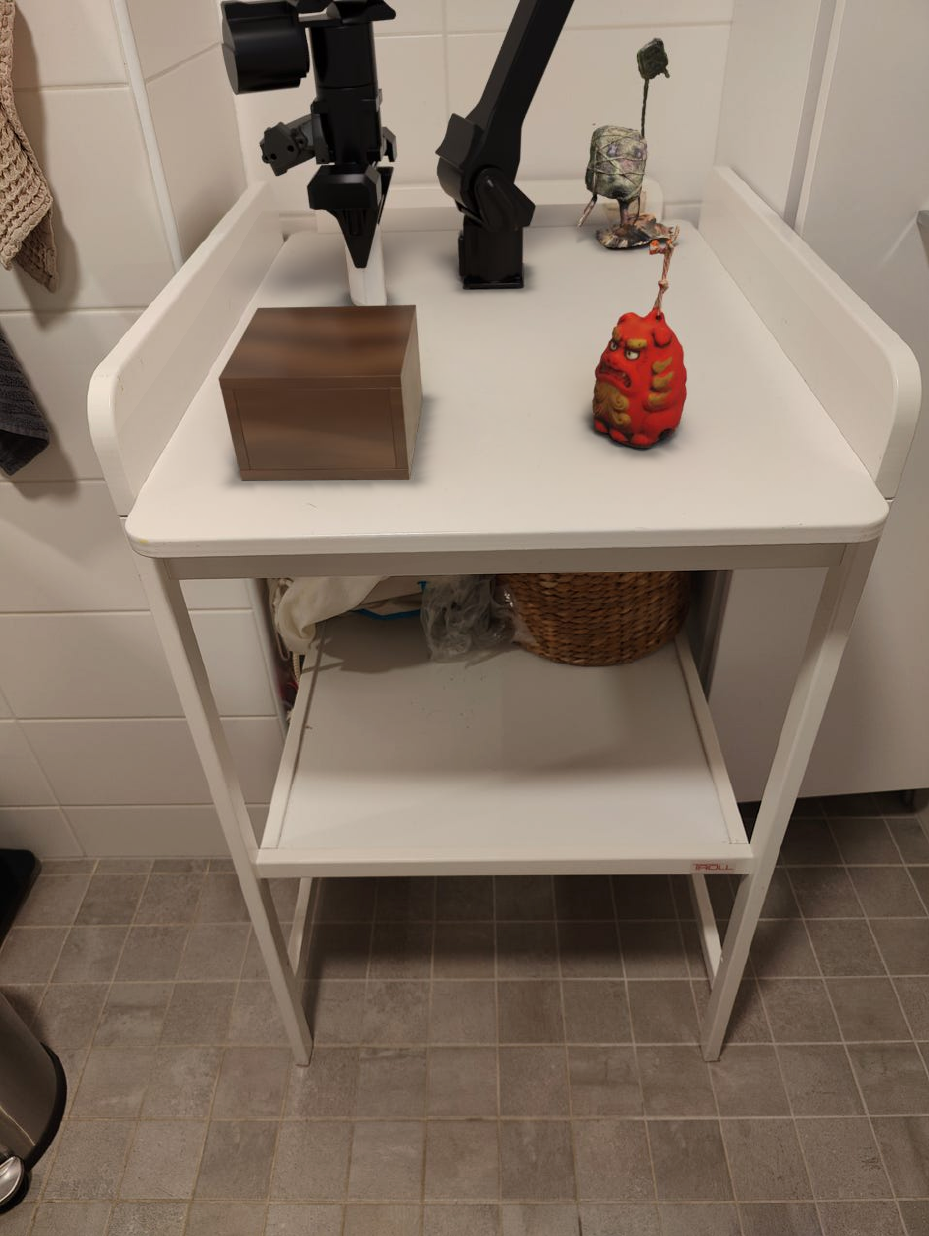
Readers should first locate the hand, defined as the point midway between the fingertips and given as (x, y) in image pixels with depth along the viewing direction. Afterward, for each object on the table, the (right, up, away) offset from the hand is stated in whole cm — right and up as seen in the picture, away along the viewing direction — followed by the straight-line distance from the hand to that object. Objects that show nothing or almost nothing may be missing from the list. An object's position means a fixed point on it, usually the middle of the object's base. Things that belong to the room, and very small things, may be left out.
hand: (364, 257), depth 93 cm
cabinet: (0, -22, -19) cm, 29 cm away
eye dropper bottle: (0, -4, +3) cm, 5 cm away
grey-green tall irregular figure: (+29, +8, +15) cm, 34 cm away
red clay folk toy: (+24, -22, -20) cm, 38 cm away
